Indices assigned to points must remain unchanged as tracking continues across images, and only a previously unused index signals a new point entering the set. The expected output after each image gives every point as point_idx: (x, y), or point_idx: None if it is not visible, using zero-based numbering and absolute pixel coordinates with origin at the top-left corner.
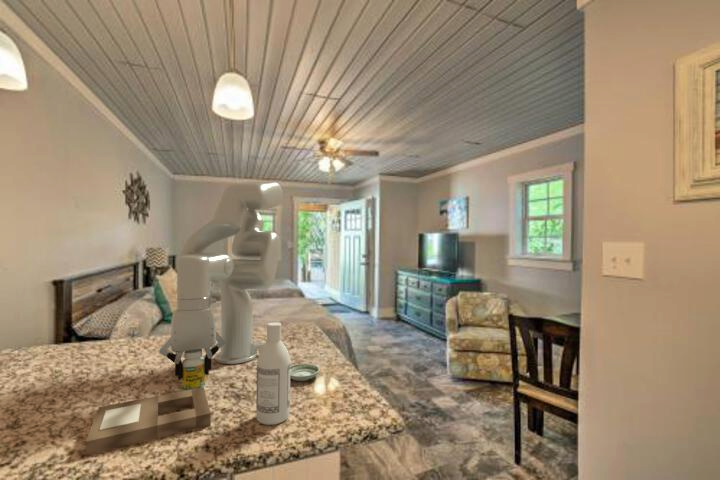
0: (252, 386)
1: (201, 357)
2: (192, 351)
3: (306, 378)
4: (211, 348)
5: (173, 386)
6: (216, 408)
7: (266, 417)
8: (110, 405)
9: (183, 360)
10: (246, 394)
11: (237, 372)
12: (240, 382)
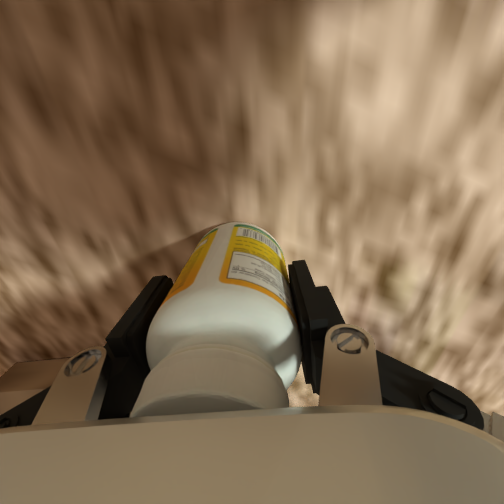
0: (450, 313)
1: (280, 372)
2: None
3: None
4: (393, 402)
5: (149, 203)
6: (309, 400)
7: None
8: (12, 394)
9: (151, 365)
10: (407, 359)
11: (464, 122)
12: (425, 263)
